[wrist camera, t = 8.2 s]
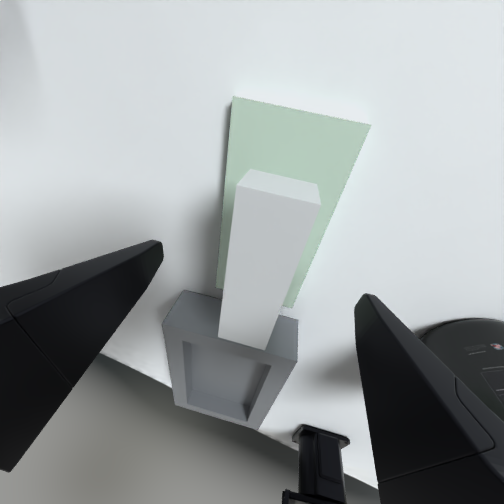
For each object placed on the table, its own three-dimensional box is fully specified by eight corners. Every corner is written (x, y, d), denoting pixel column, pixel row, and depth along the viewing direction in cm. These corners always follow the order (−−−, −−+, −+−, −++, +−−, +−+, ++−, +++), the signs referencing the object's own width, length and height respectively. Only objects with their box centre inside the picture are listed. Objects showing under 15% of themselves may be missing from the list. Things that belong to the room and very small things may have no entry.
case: (262, 396, 27) (257, 430, 24) (188, 374, 27) (175, 404, 25) (298, 320, 17) (297, 361, 15) (183, 289, 18) (161, 323, 15)
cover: (292, 298, 17) (287, 377, 12) (219, 279, 17) (186, 347, 12) (365, 123, 10) (430, 140, 5) (238, 97, 10) (176, 87, 5)
